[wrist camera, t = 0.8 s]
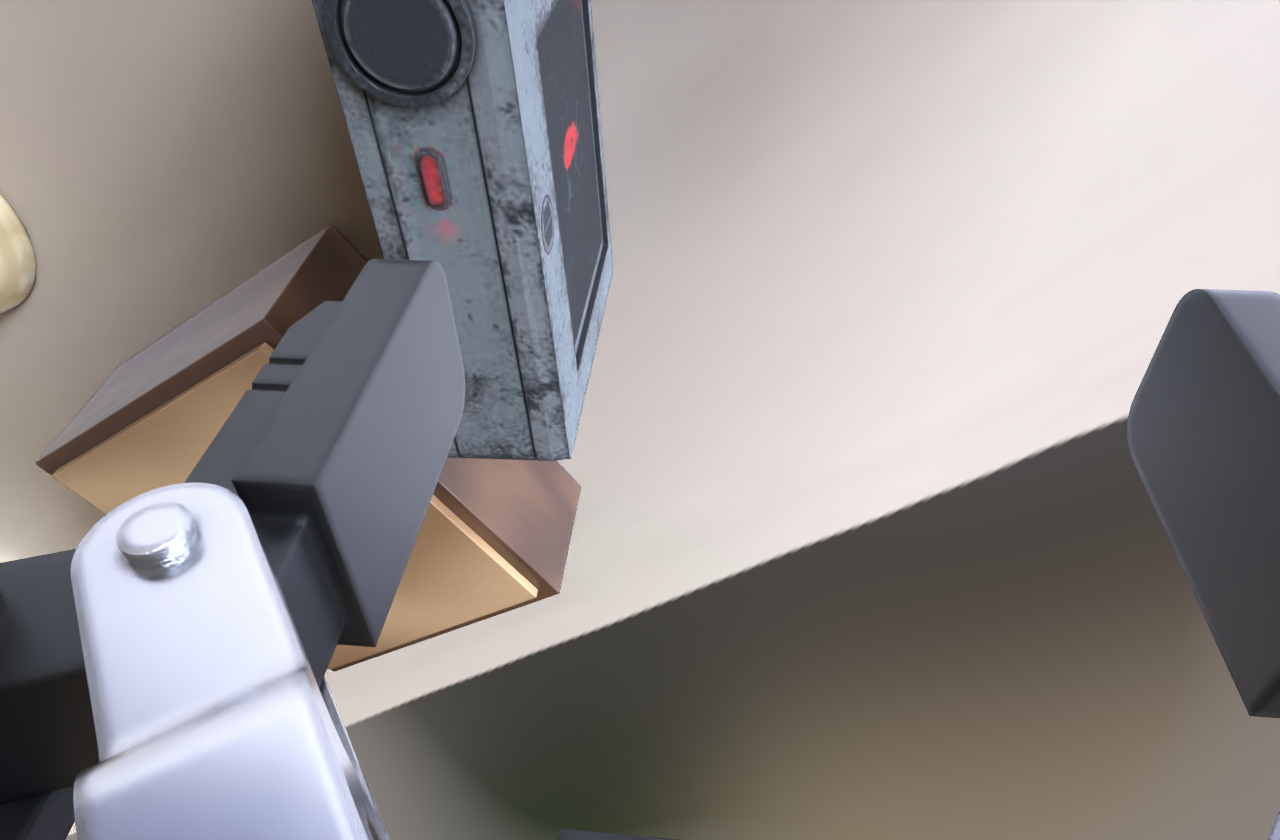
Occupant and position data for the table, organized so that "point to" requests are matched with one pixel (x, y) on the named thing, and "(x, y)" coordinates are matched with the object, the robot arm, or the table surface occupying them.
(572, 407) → the camera
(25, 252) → the hand bell
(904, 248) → the table surface
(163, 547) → the robot arm
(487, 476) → the block
